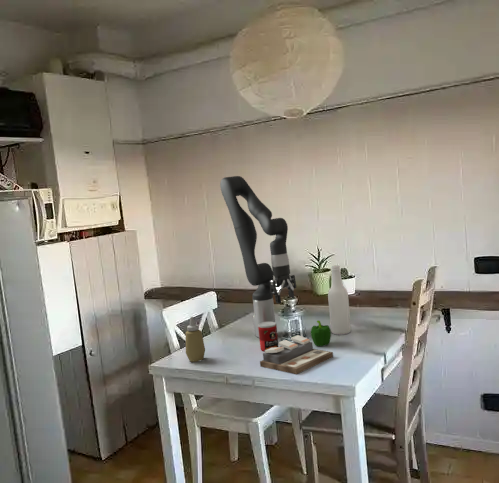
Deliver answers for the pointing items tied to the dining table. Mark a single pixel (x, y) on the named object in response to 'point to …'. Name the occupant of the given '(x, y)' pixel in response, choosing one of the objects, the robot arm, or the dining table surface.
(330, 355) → the switch box
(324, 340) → the bell pepper
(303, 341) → the rocker
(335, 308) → the alcohol
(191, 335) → the squeeze bottle
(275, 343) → the canned food
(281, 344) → the rocker
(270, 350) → the rocker
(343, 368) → the dining table surface
